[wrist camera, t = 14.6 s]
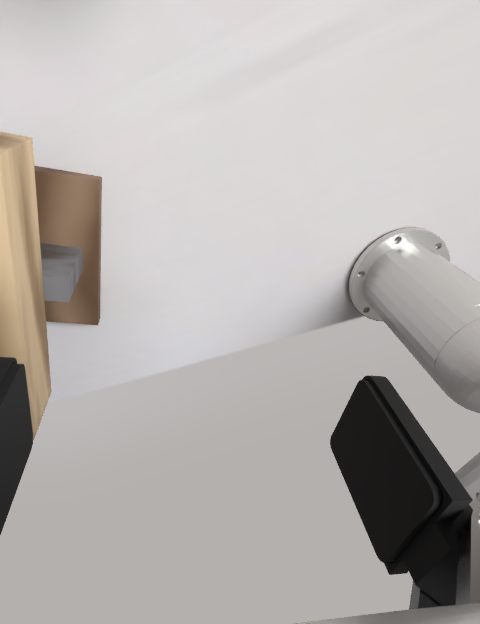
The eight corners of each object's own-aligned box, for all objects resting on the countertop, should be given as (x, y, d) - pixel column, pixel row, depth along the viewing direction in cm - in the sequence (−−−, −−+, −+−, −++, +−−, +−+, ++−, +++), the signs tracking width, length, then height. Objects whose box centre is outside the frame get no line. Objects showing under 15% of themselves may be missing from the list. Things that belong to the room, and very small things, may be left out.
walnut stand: (101, 177, 35) (85, 202, 28) (99, 317, 43) (87, 362, 36) (-46, 152, 32) (-101, 174, 25) (-18, 308, 40) (-54, 355, 34)
